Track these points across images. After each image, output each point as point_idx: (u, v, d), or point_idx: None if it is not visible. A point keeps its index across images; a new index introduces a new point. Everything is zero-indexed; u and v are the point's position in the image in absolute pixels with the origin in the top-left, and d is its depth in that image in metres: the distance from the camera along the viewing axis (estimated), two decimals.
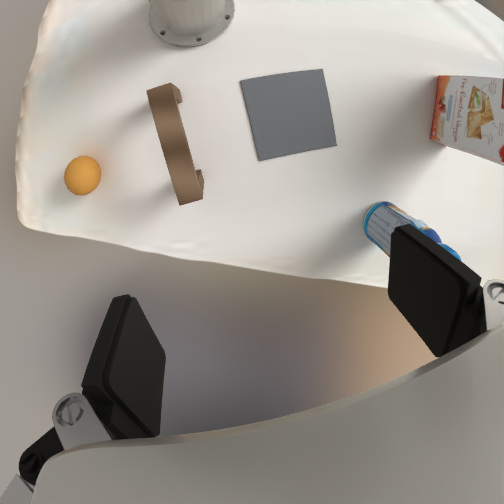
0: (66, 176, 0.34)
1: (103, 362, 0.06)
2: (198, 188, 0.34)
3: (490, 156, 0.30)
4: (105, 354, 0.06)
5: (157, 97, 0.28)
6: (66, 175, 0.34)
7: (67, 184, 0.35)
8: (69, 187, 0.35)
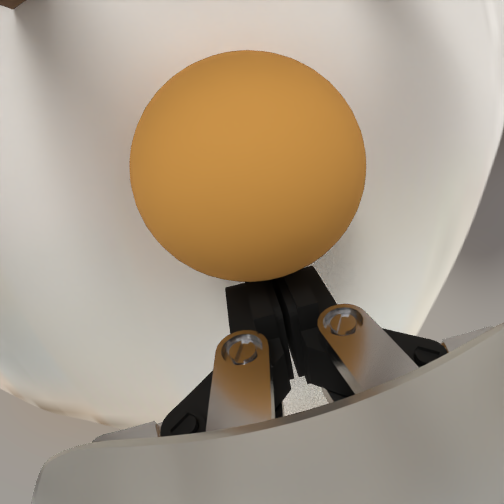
0: (195, 120, 0.04)
1: (268, 296, 0.07)
2: None
3: None
4: (264, 290, 0.08)
5: None
6: (187, 123, 0.04)
7: (267, 111, 0.04)
8: (291, 101, 0.04)
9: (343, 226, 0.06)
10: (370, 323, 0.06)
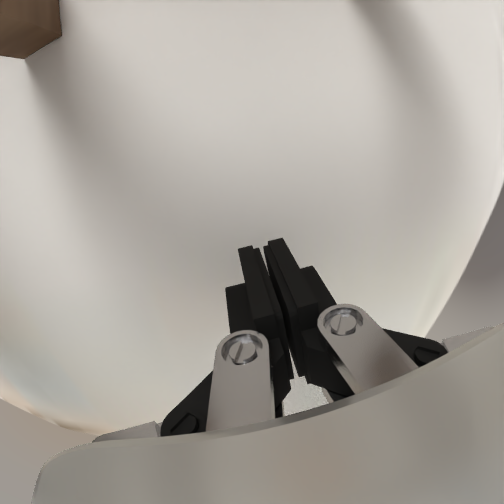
0: None
1: (268, 296, 0.07)
2: None
3: None
4: (264, 290, 0.08)
5: None
6: None
7: None
8: None
9: None
10: (370, 323, 0.06)
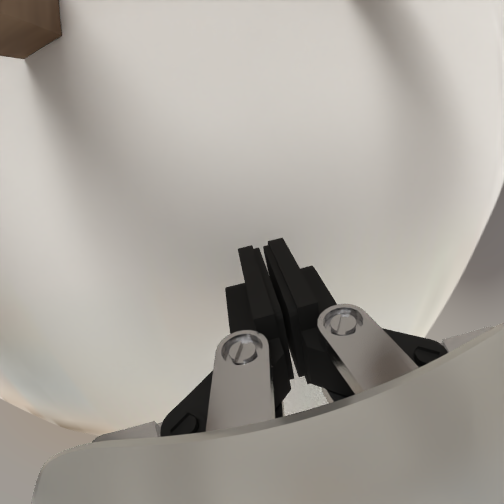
0: None
1: (268, 296, 0.07)
2: None
3: None
4: (264, 290, 0.08)
5: None
6: None
7: None
8: None
9: None
10: (370, 323, 0.06)
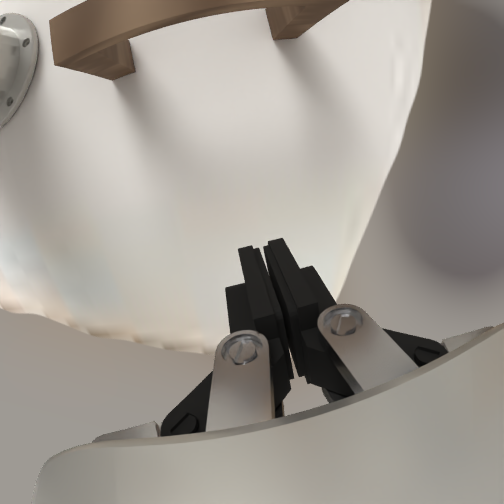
0: None
1: (268, 296, 0.07)
2: None
3: None
4: (264, 290, 0.08)
5: (73, 36, 0.09)
6: None
7: None
8: None
9: None
10: (370, 323, 0.06)
